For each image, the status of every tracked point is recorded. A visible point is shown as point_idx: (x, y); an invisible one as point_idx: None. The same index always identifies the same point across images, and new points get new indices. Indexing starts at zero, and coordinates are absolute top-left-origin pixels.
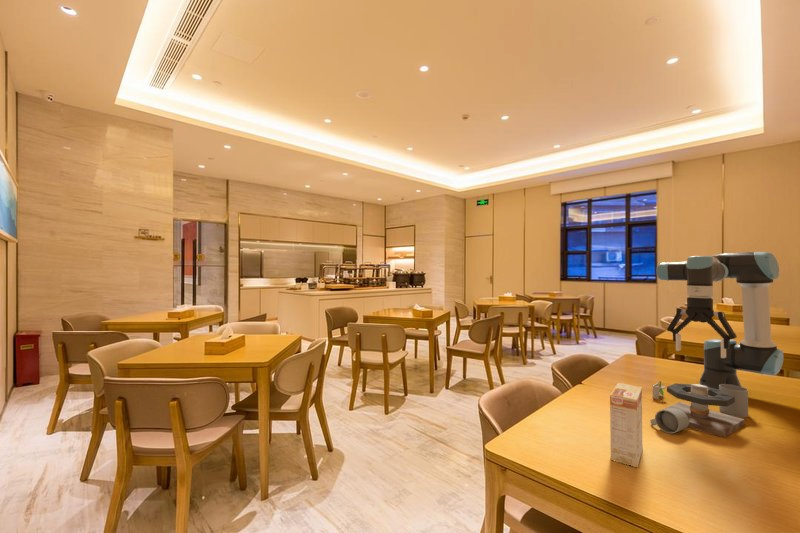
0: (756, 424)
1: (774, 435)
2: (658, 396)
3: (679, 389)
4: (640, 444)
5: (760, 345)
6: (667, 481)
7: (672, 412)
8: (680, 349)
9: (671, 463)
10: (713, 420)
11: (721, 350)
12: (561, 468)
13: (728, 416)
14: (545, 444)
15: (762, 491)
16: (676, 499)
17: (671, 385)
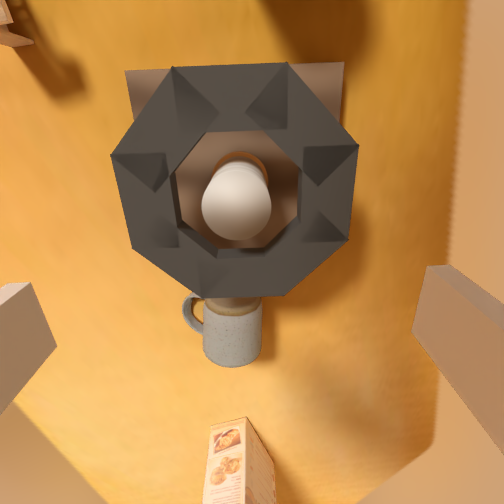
0: (366, 12)
1: (418, 94)
2: (24, 40)
3: (180, 245)
4: (264, 469)
5: None
6: (312, 461)
7: (243, 364)
8: (28, 299)
9: (296, 424)
10: (282, 187)
11: (466, 394)
12: None
13: None
14: (164, 495)
15: (405, 404)
16: (333, 481)
17: (128, 213)
